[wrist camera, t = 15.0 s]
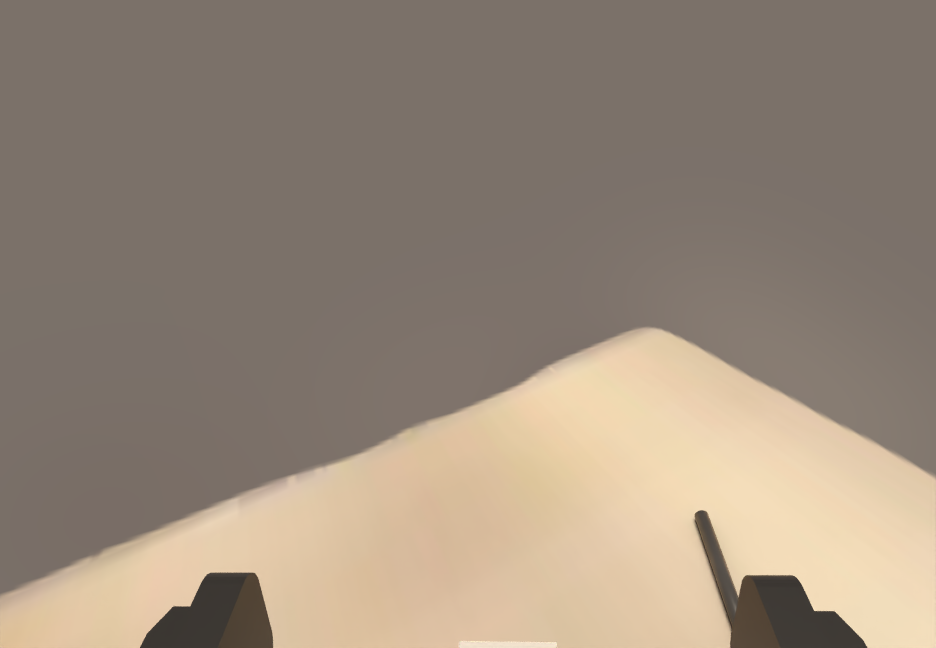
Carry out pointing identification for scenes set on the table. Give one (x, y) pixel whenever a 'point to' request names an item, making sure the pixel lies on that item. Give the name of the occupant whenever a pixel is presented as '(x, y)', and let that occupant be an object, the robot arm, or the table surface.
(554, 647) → the charger
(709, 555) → the strip
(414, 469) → the table surface
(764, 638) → the robot arm
